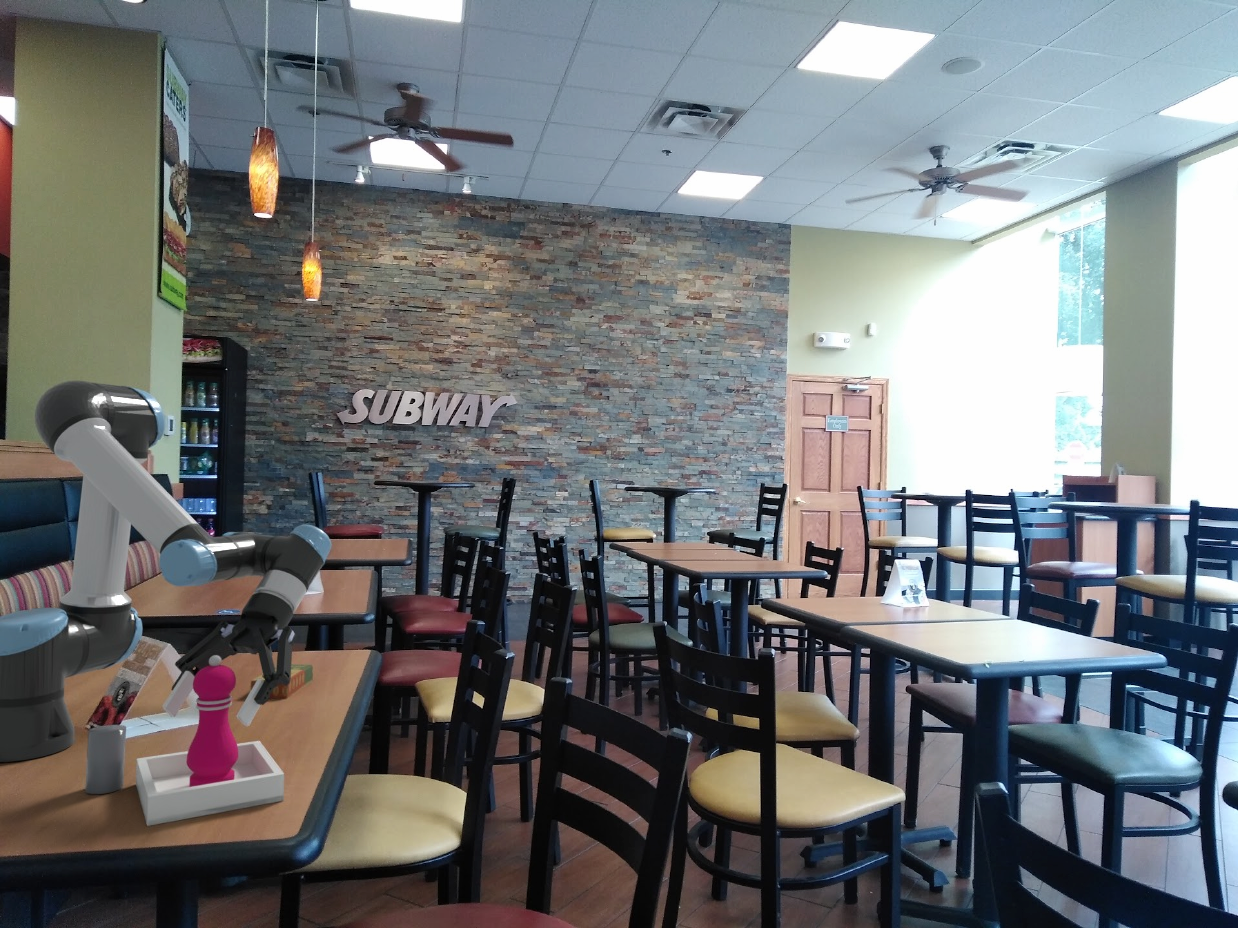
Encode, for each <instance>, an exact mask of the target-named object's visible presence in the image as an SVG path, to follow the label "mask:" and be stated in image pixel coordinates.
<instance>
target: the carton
mask: <svg viewBox="0 0 1238 928" xmlns="http://www.w3.org/2000/svg"><path fill="white" fill-rule="evenodd" d="M274 666H275V671H276V668H277V665H274ZM313 669H314V667H313V664H295V663H294V664H292V663H291V679H290V683H289V684H288V685H286V686H285V685H283V684H281V685H278V686H277V687H275V688H274V689H273V691H272V693H271V694H270V696H269V698H268V699H289V698H290V697H292V696H293V695H294V694H296V693H298V692H299V691H301V689H303V688H304V687H306V686H308V685H309V684H310V683H312V682H313V681H314V673H313V672H314V671H313ZM262 675H263V673H262V674H260V675H258V676H257V677H255V678H253V679H251V681H250V692H251V690H252V688H253V686H254V685H255V683H256V681H257V680H258V679H262V680H263V681H264V680H265V679H264V678H263V677H262ZM298 690H299V691H298ZM250 692H249V693H250ZM295 692H296V693H295Z"/></svg>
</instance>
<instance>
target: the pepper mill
mask: <svg viewBox="0 0 1238 928" xmlns="http://www.w3.org/2000/svg"><path fill="white" fill-rule="evenodd" d="M209 664H210V666H207V667H205V668H203V669H201V670H200V671H199V672H198V673H197V674H196V675H195V677H194V680H193V689H192V691H194V693H195V695H197V698H196V700H195V702H196V705H195V708H196V709H197V710H198V725H197V730H196V732H195V735H194V737H193V739H192V741H191V742H190V745H189V748H188V750H187V751H188V754H187V761H186V762H187V766H188V767H189V769H190V770H191V771H192V772H193V774H192V775H191V776H190V784H189V787H193V786H199V785H205V784H211V783H217V782H223V781H229V780H234V777H235V772H234V770H233V769H231V768H232V766H233V765H234V764H235V763H236V761H237V759H238V746H237V744H238V742H237V741H236V739H235V738H236V737H235V736H234V734H233V732H232V729H231V727H230V726H231V725H230V721H229V720H230V719H229V708H230V707H231V706H232V704H233V702H232V699H233V696H232V695H231V692H233V690H234V689H235V687H236V685H237V678H236V675H235V671H233V670H232V668H231V667H230V666H229V667H228V666H227V665H223V664H222V661H221V657H220V656H217V655H214V656H212V657H211V658H210V659H209Z"/></svg>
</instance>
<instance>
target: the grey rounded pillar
mask: <svg viewBox="0 0 1238 928" xmlns="http://www.w3.org/2000/svg"><path fill="white" fill-rule="evenodd" d="M87 732H88V734H87V751H86V753H87V754H86V770H85V785H84V786H85V787H84V788H85V789H84V792H85V793H86V794H90V795H102V794H103V795H104V794H109V793H114V792H116V791H117V792H118V791H119V790H121V789H123V787H124V781H125V780H124V779H125V778H124V777H125V776H124V775H125V758H126V736H127V726H126V725H122V724H108V725H107V724H106V725H99V726H95V727H92V728H90V729H89V730H88V731H87Z"/></svg>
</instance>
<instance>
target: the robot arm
mask: <svg viewBox="0 0 1238 928" xmlns="http://www.w3.org/2000/svg"><path fill="white" fill-rule="evenodd" d="M34 424H35V428H36V430H37V432H38V435H39V436H40V438H41V440H42V442H43V443H44V444H45V446H47V447H48V449H49V450H50V451H51V452H52V453H53V454H54V455H55V456H56V457H57V458H58V459H60V460H61V461H63V462H71V463H72V465H73V466H75V468H77V469H78V471H79V472H80V473H81V474H83V477H82V486H81V494H80V503H79V513H78V523H77V531H76V539H75V540H76V541H75V549H74V550H75V551H74V559H73V566H72V568H73V569H72V578H71V587H70V590H69V591H68V592H67V593H66V594H64V595H63V596H62V597H61V598H60V599H59V608H57V607H40V608H39V607H38V608H37V607H36V608H32V609H24V610H19V611H15V612H10V613H6V614H3V615H1V616H0V763H9V762H18V761H25V760H32V759H36V758H37V759H38V758H41V757H47V756H49V755H52V754H55V753H58V752H62V751H64V750H66V749H68V748H69V747H71V746H73V745H74V743H75V731H76V730H75V727H74V723H73V721H72V718H71V715H70V712H69V709H68V706H67V704H66V701H65V683H66V681H65V680H66V678H71V677H75V676H78V675H81V674H86V673H89V672H93V671H99V670H105V669H108V668H110V667H113V666H115V665H116V664H117V665H118V664H120V663H122V662H124V661H126V660H128V658H129V657H131V656H132V655H133V654H134V653H135V651H136V650H137V649H138V647H139V645H140V643H139V644H138V645H137V643H138V641H139V640H140V639H141V640H142V636H143V621H142V619H141V618H139V617H138V616H139V613H138V611H137V610H136V608H134V607H133V606H132V600H133V599H132V598H131V597H130V596H129V595H128V594H127V593H126V592H125V583H126V573H127V564H128V557H129V556H128V554H129V547H130V546H129V544H130V537H131V528H132V527H134V529H135V530H136V531H137V532H138V533H139V534H140V535H141V536H142V537H143V538H144V539H145V541H147V542H148V543H149V544H150V545H151V546H152V547H153V548H154V549H155V550H156V551H157V553H158V554H159V558H158V559H159V561H158V565H159V566H158V568H159V569H160V572H161V576H162V578H163V579H164V580H165V581H166V582H167V583H169V584H170V585H172V586H175V587H198V586H204V585H205V584H209V583H211V584H212V583H215V582H216V583H217V582H221V581H222V582H223V581H229V580H236V579H240V578H245V577H258V578H260V577H261V578H262V579H260V582H259V584H258V585H257V587H256V588H255V590H254V592H253V594H251V596H250V597H249V599H248V600H247V603H246V604H245V605H244V607H243V609H242V610H241V616H240V619H239V621H238V622H237V623H236V624H230V623H228V622H227V621H226V620H221V621H219V623H218V624H217V625H216V626H215V628H214V629H213V631H211V632H210V633H209V634H207V635H206V636H205V637H204V638H203V639H202V640H200V641H199V642H198V643H197V644H196V645H194V646H193V647H192V648H190V650H188V651H187V652H186V653H184V655H182V656H181V657H179V659H178V660H176V661H175V663H174V665H175V667H177V669H178V670H179V671H180V674H179V676H178V677H177V679H176V680H175V682H174V683H173V684H172V687H171V693H170V694H169V695H168V697H167V698H166V700H165V701H164V703H163V705H162V706H161V708H162V709H163V711H165V713H167V714H168V715H169V716H170V717H173V718H175V717H176V716H177V715H178V713H179V712H180V710H181V708H182V706H183V705H184V704H185V702H186V701H187V699H188V697H189V695H190V694H191V693H192V691H193V680H194V677H195V675H196V674H197V673H198V672H199V671H200V670H201V669H203V668H205V667H207V666H210V664H209V659H210V658H211V657H212V656H214V655H217V656H220V657H221V662H222V661H224V660H225V659H226V658H228V657H230V656H235V655H237V654H250V655H255V656H256V655H258V658H259V662H260V666H261V670H262V674H263V675H262V674H261V675H262V677H263V678H264V679H265V680H264V681H263V680H262V679H258V680H257V681H256V683H255V685H254V686H253V688H252V690H251V689H250V691H251V692H249V693H248V695H247V697H246V699H245V700H244V702H243V703H242V705H241V707H240V709H239V711H238V712H237V714H236V716H235V718H237V720H238V721H239V722H240V723H241V724H242V725H243V726H244V727H249V726H250V725H251V723H252V721H253V720H254V718H255V716H256V714H257V712H258V711H259V709H260V708H261V706H264V705H265V704H266V703H267V701H268V699H270V698H269V696H270V694H271V693H272V691H273V689H274V688H275V687H277V686H278V685H281V684H283V685H285V686H286V685H288V684H289V683H290V679H291V664H292V660H293V646H294V643H295V641H296V640H297V634H296V633H295V632H294V630H292V628H291V626H289V623H290V622H291V620H292V618H293V617H294V613H296V611H297V609H298V608H299V605H300V604H301V602H302V601H303V599H304V597H305V596H306V594H307V592H308V591H309V588H310V586H311V584H312V583H313V581H314V580H315V578H316V577H317V575H318V574H319V572H320V570H321V569H322V567H324V565H325V564H326V563H325V562H326V560H327V558H328V556H329V554H330V552H331V549H332V541H331V539H330V537H329V535H328V534H327V533H326V532H324V531H323V530H322V529H320V528H319V527H317V526H314V525H311V524H307V523H306V524H301V525H298V526H297V525H296V526H295V527H294V528H293V530H292V531H291V532H290V533H289V535H288V536H283V535H276V536H275V535H269V534H259V533H258V534H257V533H250V532H248V531H236V532H235V531H228V532H226V533H224V534H222V535H221V536H212V535H210V534H209V533H208V531H206V530H205V529H204V528H203V527H202V526H201V525H200V524H199V522H197V521H196V520H195V519H194V518H193V517H192V516H191V514H190V513H188V511H186V509H184V508H183V507H182V505H181V504H179V502H178V501H177V500H176V499H175V498H174V497H173V496H172V495H171V494H170V493H169V492H167V490H166V489H165V488H164V486H162V485H161V483H159V482H158V481H157V480H156V479H155V478H154V477H153V476H152V475H151V474H150V472H148V470H147V469H146V468H145V467H144V466H143V465H142V464H143V463H145V462H147V461H148V455H149V449H150V448H152V447H153V446H156V445H157V444H158V441H160V440H161V439H162V437H163V435H164V433H165V427H166V418H165V413H164V410H163V408H162V406H161V404H160V403H159V402H158V401H157V399H156V398H155V396H153V395H152V394H151V393H149V392H148V391H145V390H142V389H140V388H135V387H131V386H127V385H115V384H108V383H100V382H99V383H98V382H90V381H86V380H67V381H63V382H60V383H58V384H55V385H53V386H52V387H50V388H48V389H47V390H46V391H45V392H44V393H43V394H42V395H41V396H40V398H39V400H38V401H37V404H36V406H35V409H34ZM131 526H132V527H131ZM141 640H140V641H141ZM275 642H278V643H277V644H278V645H277V656H276V665H275V663H274V659H273V650H272V646H271V645H273V644H274V643H275ZM230 643H232V644H233V646H232V644H230ZM135 646H137V648H135ZM134 649H135V651H134V652H133V650H134ZM132 652H133V654H132ZM131 654H132V655H131ZM130 655H131V656H130ZM275 666H277V668H276V671H275Z"/></svg>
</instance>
